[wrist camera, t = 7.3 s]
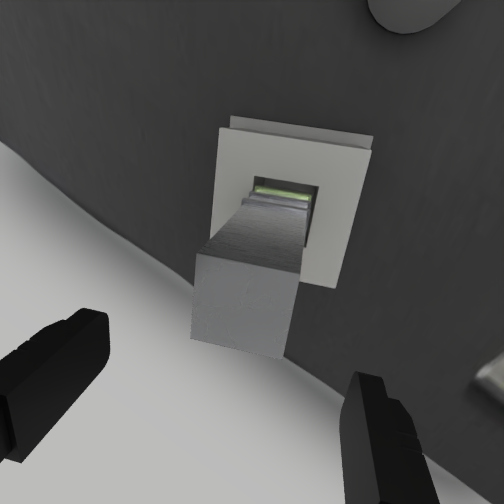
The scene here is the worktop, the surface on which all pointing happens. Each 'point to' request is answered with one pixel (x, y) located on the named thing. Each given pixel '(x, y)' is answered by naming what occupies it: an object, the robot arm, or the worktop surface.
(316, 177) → the stand base
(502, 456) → the worktop surface
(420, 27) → the can
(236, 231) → the column
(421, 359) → the worktop surface
